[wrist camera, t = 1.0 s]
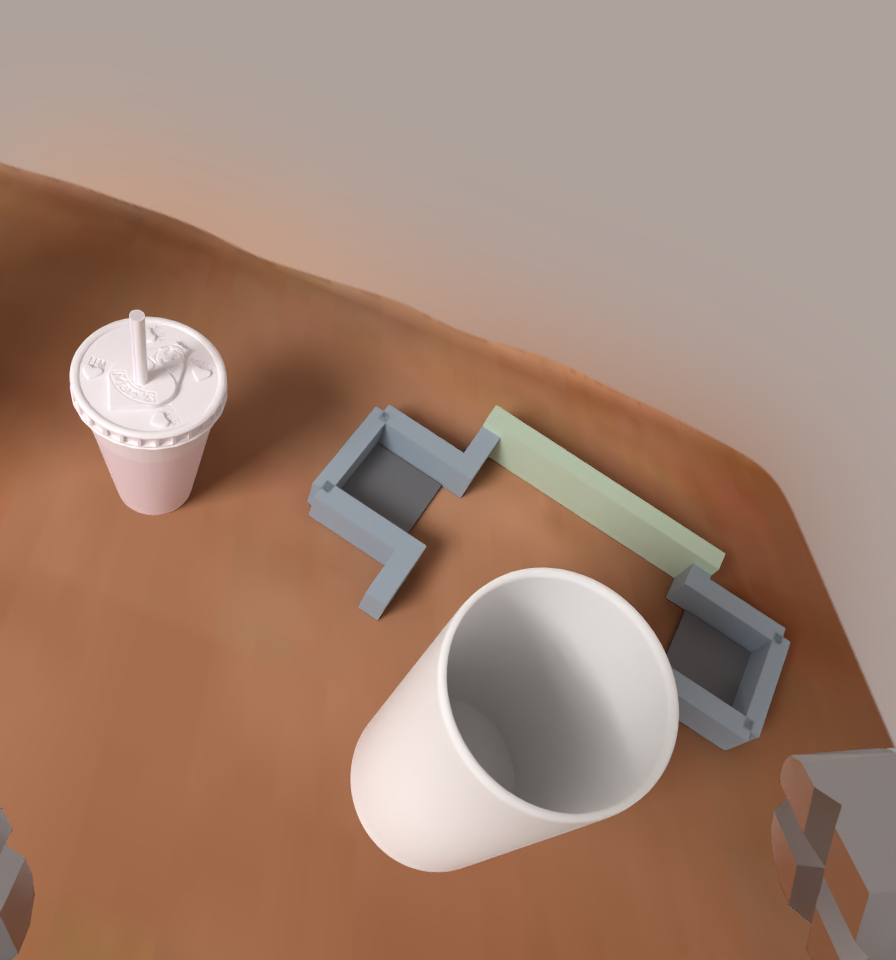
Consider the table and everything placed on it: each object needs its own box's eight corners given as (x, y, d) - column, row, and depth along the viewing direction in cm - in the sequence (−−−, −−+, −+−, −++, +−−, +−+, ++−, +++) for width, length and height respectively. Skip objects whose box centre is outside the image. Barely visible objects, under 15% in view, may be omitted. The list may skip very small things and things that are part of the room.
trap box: (269, 548, 44) (275, 523, 41) (404, 383, 51) (416, 353, 49) (704, 838, 43) (737, 830, 40) (777, 625, 50) (808, 607, 48)
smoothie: (59, 489, 42) (14, 306, 31) (149, 409, 46) (140, 218, 34) (161, 563, 42) (155, 407, 30) (244, 477, 45) (268, 307, 34)
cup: (411, 660, 43) (517, 522, 30) (545, 755, 42) (714, 659, 29) (315, 802, 39) (388, 715, 25) (463, 910, 38) (619, 881, 25)
